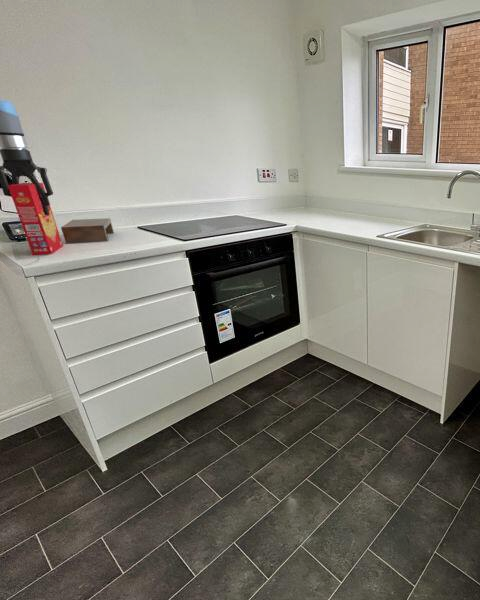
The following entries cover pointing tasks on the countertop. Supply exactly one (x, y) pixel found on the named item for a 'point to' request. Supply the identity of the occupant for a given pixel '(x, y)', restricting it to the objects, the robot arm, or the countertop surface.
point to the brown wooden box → (87, 230)
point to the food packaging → (35, 219)
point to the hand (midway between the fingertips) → (36, 214)
